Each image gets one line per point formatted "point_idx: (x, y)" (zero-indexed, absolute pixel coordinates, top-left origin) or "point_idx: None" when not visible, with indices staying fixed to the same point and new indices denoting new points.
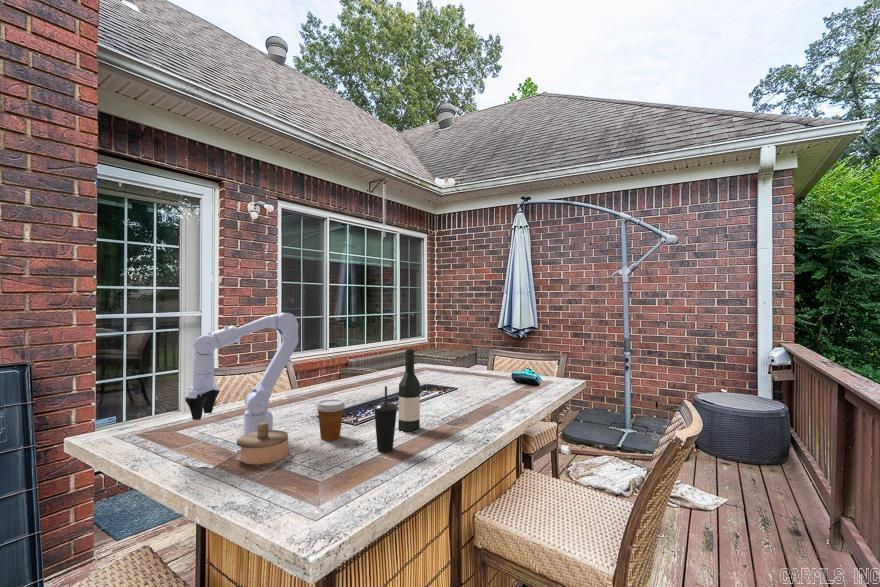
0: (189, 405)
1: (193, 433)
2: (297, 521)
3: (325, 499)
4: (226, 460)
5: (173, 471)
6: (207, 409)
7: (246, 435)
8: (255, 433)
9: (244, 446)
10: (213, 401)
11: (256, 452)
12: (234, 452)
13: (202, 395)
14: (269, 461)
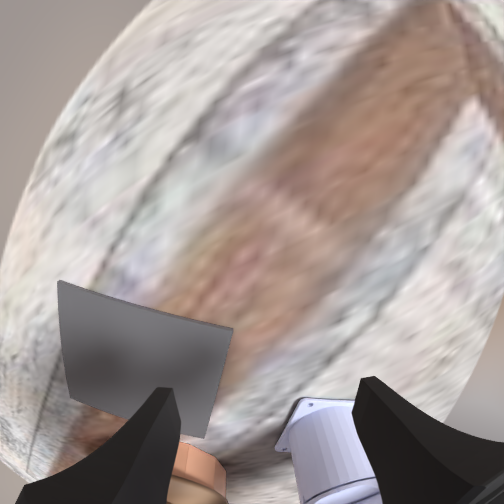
0: (77, 470)
1: (454, 170)
2: (18, 463)
3: None
4: (120, 416)
5: (40, 305)
6: (366, 416)
7: (169, 486)
8: (192, 496)
9: None
10: (379, 486)
11: None
12: (183, 422)
13: (441, 483)
14: None
